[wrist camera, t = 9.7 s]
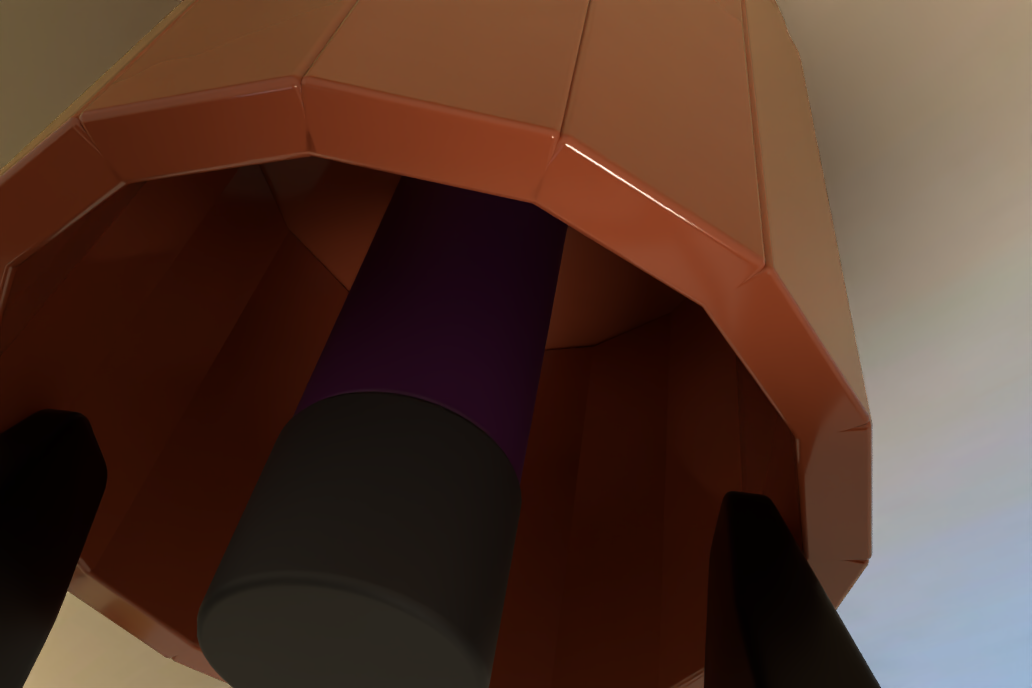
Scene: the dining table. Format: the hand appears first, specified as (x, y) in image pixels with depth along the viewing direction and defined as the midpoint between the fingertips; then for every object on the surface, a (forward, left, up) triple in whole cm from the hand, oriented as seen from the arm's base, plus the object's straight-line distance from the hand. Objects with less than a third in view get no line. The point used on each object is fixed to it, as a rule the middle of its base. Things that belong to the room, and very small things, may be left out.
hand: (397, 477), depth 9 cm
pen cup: (0, 0, -7) cm, 7 cm away
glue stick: (0, 0, -6) cm, 6 cm away
